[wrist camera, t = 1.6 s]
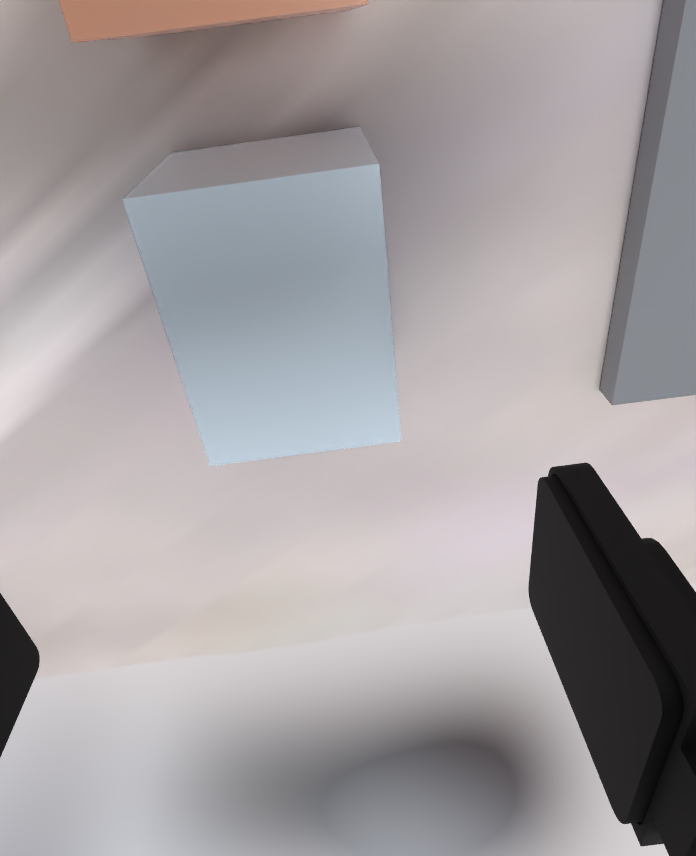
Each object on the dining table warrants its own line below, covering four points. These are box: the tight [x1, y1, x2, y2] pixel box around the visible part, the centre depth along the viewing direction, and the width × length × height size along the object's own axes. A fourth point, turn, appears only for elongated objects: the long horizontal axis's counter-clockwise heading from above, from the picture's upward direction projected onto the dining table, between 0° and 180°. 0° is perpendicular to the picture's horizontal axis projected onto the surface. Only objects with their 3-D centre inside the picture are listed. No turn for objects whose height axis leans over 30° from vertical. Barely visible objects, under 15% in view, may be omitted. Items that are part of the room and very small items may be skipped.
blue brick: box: [122, 127, 401, 466], centre depth 18 cm, size 8×6×6 cm
